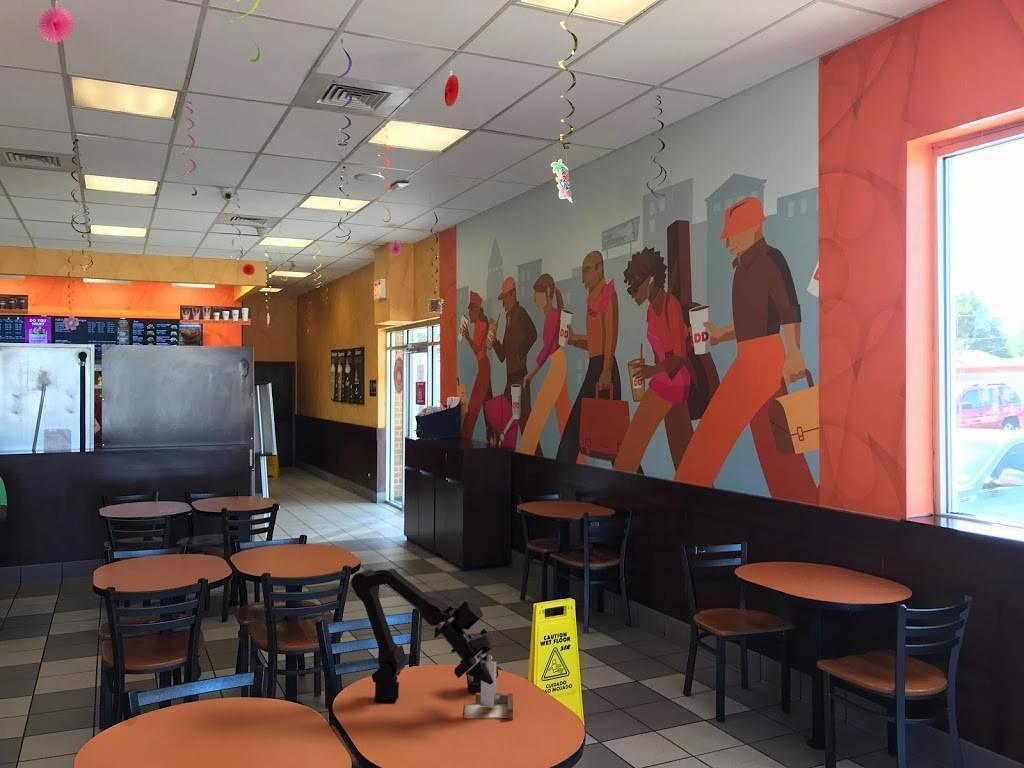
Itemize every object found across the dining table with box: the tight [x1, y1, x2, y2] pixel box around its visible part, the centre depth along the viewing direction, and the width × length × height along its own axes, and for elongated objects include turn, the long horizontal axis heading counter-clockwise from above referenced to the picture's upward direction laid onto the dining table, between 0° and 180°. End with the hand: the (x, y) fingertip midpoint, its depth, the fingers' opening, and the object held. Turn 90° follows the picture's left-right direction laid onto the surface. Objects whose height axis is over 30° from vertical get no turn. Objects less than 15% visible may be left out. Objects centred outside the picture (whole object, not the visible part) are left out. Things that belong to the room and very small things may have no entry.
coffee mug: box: [465, 653, 499, 694], centre depth 248 cm, size 12×9×10 cm
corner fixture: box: [463, 692, 514, 721], centre depth 233 cm, size 14×12×3 cm
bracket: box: [481, 660, 500, 707], centre depth 233 cm, size 4×6×12 cm, turn 163°
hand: (493, 682), depth 231 cm, fingers closed on bracket, 2 cm apart
